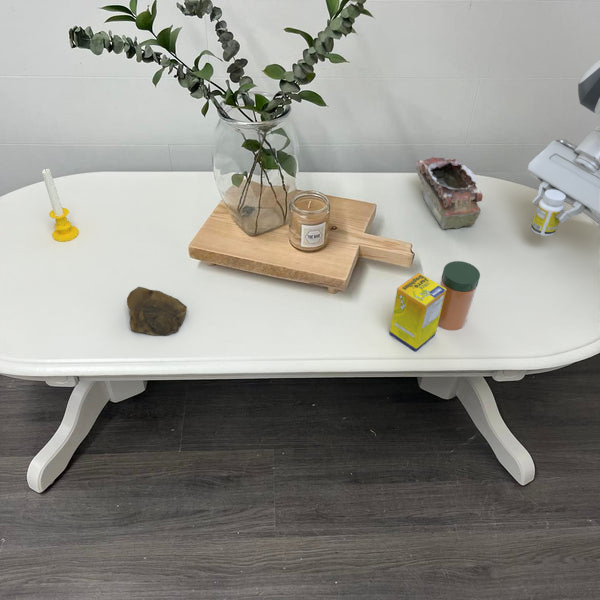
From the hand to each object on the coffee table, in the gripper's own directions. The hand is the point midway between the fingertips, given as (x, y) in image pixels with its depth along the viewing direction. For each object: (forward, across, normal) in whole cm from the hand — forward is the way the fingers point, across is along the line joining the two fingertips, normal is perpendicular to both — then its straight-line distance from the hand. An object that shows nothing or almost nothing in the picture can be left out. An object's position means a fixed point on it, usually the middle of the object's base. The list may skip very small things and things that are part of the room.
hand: (547, 212), depth 114 cm
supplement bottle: (+3, 0, +4) cm, 5 cm away
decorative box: (+13, -22, 0) cm, 25 cm away
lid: (+20, +8, -22) cm, 31 cm away
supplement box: (+34, +9, -21) cm, 40 cm away
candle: (+66, -48, -54) cm, 99 cm away
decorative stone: (+60, -16, -48) cm, 79 cm away
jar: (+27, +8, -15) cm, 32 cm away
